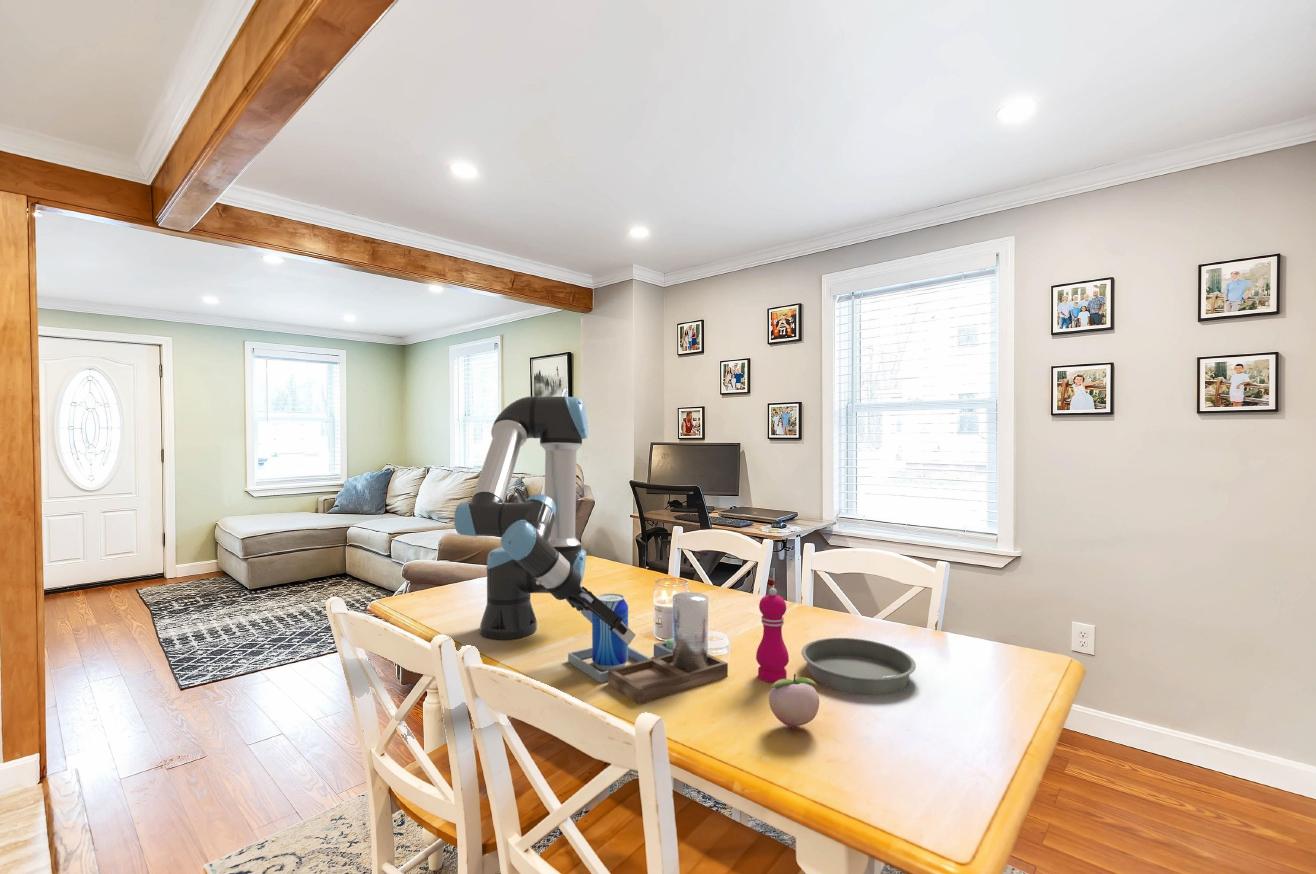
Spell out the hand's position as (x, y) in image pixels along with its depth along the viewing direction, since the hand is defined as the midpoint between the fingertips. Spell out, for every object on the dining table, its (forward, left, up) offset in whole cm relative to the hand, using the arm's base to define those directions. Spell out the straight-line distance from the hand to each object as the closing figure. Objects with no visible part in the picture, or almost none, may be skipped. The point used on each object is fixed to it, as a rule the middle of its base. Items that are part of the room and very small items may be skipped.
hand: (615, 631), depth 142 cm
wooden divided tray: (+15, +5, -8) cm, 17 cm away
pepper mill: (+27, +25, -8) cm, 37 cm away
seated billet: (+15, +11, -6) cm, 19 cm away
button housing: (+5, +14, -8) cm, 16 cm away
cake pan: (+37, +42, -8) cm, 56 cm away
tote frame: (0, -1, -8) cm, 8 cm away
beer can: (0, -1, -8) cm, 8 cm away
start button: (+5, +14, -8) cm, 16 cm away
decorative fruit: (+46, +11, -8) cm, 48 cm away
